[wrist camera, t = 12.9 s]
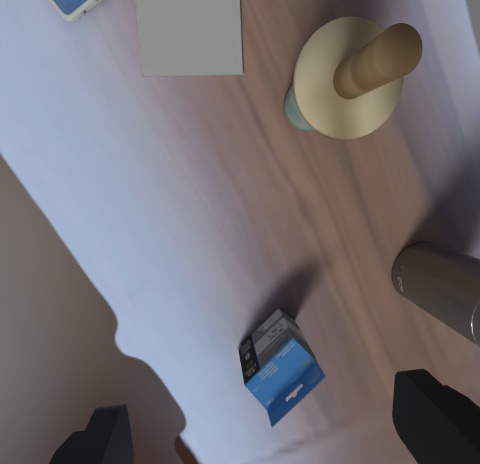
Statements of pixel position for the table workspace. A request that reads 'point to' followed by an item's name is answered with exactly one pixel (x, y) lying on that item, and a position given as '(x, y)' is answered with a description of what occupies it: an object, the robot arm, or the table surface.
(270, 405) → the ink cartridge box
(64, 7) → the tablet computer
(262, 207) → the table surface
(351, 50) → the lid
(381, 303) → the table surface
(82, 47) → the table surface
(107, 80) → the table surface
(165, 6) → the coaster
